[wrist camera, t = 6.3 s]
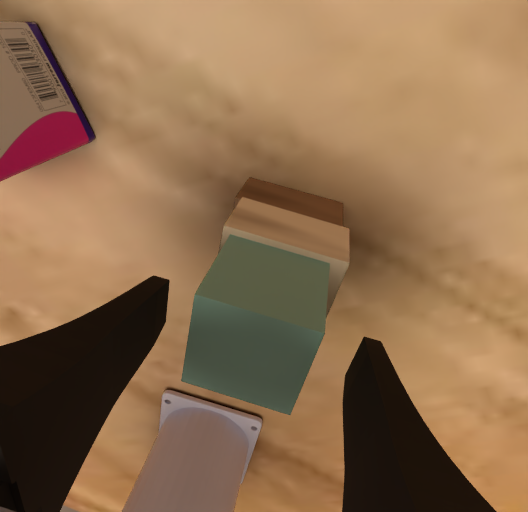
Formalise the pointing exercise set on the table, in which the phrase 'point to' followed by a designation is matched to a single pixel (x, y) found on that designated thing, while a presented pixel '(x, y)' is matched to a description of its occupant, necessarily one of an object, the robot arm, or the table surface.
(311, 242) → the tower top block
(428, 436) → the robot arm
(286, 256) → the teal cube
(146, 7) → the table surface
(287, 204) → the tower base block
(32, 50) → the supplement box
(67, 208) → the table surface
